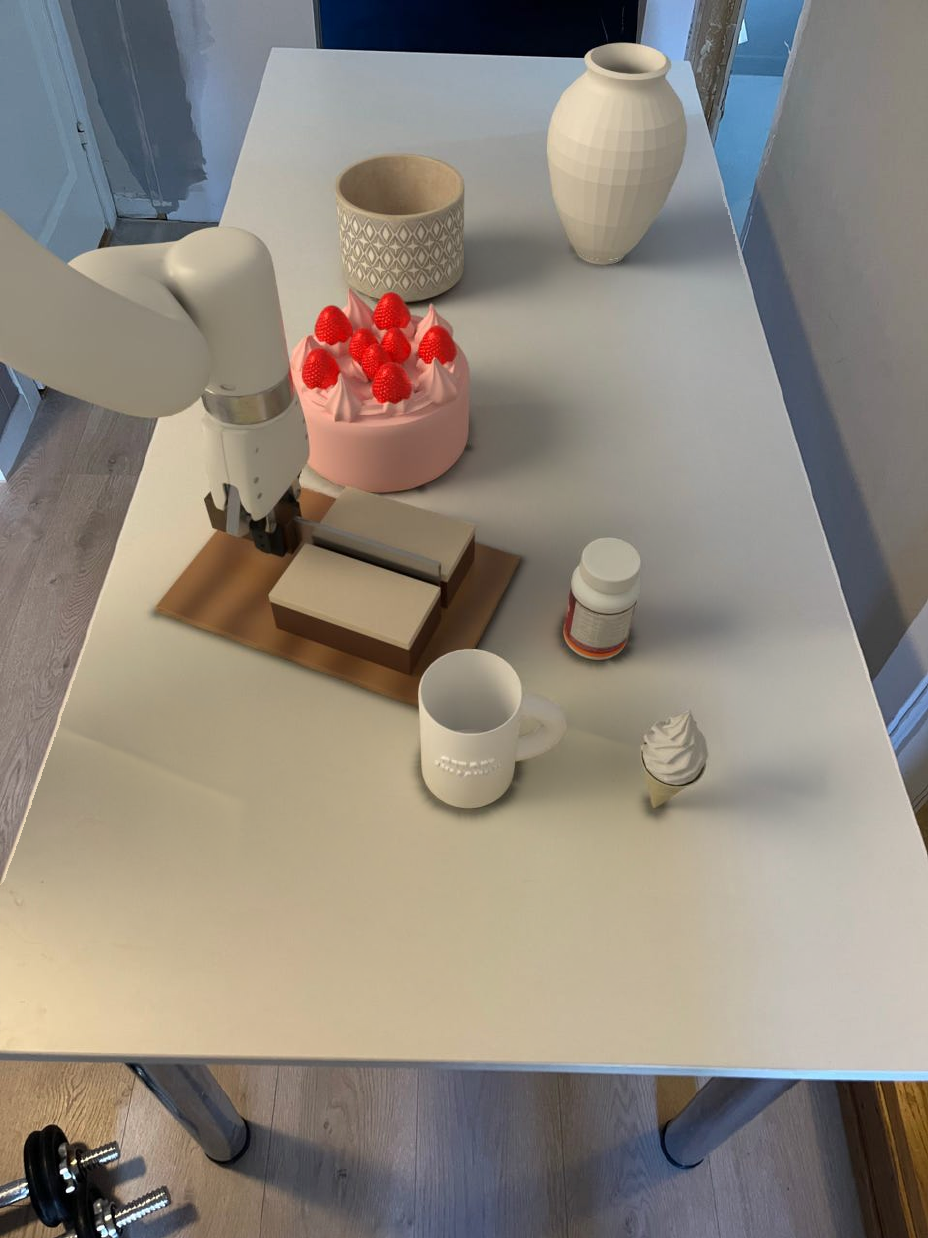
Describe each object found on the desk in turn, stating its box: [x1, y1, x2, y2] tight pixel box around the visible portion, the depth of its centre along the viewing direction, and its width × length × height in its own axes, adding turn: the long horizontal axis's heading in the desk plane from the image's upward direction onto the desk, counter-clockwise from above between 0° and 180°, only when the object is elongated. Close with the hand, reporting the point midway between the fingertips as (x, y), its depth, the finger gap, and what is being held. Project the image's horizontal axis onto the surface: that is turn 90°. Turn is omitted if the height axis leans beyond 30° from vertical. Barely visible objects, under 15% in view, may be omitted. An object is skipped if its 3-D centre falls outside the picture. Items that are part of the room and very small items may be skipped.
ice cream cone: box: [639, 709, 709, 809], centre depth 70 cm, size 5×5×15 cm
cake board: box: [155, 486, 520, 709], centre depth 90 cm, size 30×20×1 cm, turn 67°
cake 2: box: [320, 485, 477, 609], centre depth 89 cm, size 14×7×5 cm, turn 67°
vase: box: [546, 42, 688, 266], centre depth 119 cm, size 18×18×25 cm
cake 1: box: [289, 287, 471, 494], centre depth 99 cm, size 20×20×14 cm
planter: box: [334, 153, 465, 303], centre depth 120 cm, size 16×16×13 cm
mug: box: [418, 648, 567, 809], centre depth 74 cm, size 8×12×12 cm
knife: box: [203, 490, 441, 590], centre depth 86 cm, size 24×3×4 cm, turn 67°
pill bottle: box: [563, 537, 642, 661], centre depth 83 cm, size 6×6×11 cm
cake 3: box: [269, 543, 441, 676], centre depth 84 cm, size 14×7×5 cm, turn 67°
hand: (280, 538), depth 89 cm, fingers closed on knife, 2 cm apart
